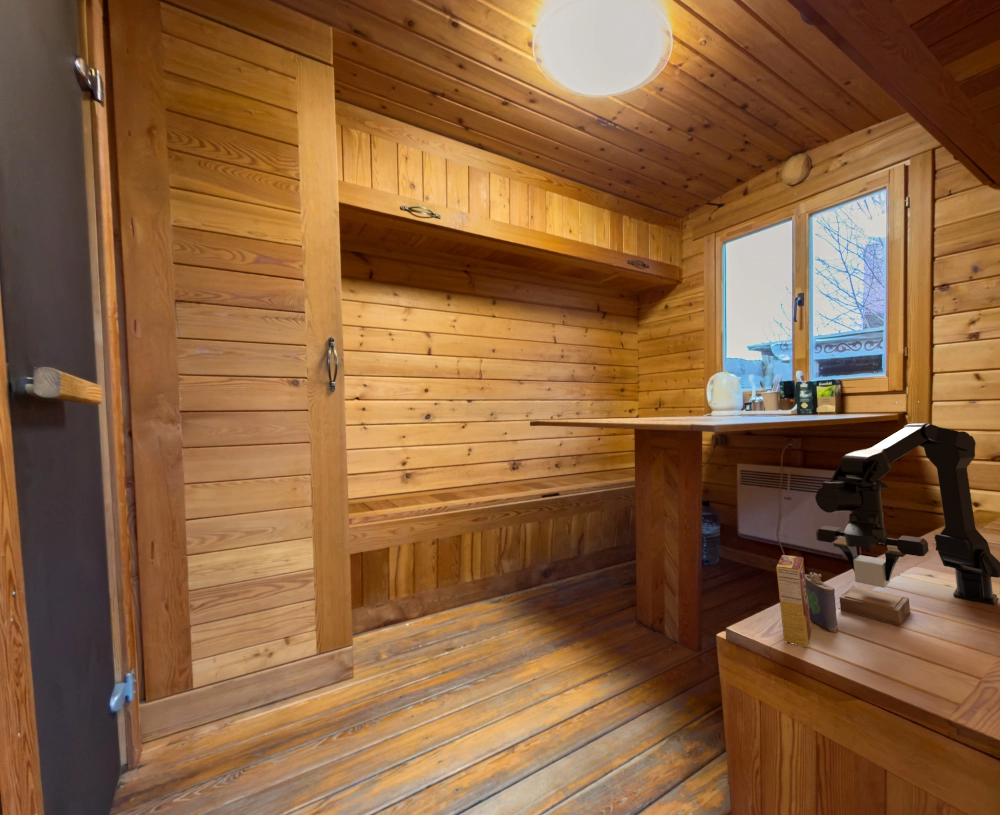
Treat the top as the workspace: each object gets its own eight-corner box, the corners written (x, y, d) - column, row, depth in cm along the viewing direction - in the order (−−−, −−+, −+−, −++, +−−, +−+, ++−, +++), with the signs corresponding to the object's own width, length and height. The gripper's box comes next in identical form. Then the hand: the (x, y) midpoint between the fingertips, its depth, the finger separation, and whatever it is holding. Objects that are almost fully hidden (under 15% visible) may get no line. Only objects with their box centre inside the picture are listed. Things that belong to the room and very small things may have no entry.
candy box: (787, 625, 91) (781, 554, 92) (811, 630, 89) (805, 557, 89) (781, 642, 84) (775, 565, 85) (808, 648, 82) (801, 569, 82)
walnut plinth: (853, 598, 103) (852, 584, 103) (910, 611, 95) (908, 596, 95) (840, 610, 97) (839, 596, 97) (899, 625, 89) (897, 609, 89)
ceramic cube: (861, 576, 99) (859, 555, 100) (890, 581, 95) (887, 559, 96) (855, 581, 96) (853, 559, 97) (884, 587, 92) (882, 564, 93)
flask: (841, 633, 87) (836, 580, 87) (825, 633, 87) (820, 580, 88) (814, 613, 96) (810, 566, 96) (800, 613, 96) (796, 566, 97)
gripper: (805, 509, 100) (811, 576, 99) (914, 520, 85) (921, 599, 84) (821, 502, 106) (827, 564, 105) (925, 511, 91) (932, 585, 90)
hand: (872, 577), depth 96 cm, fingers closed on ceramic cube, 5 cm apart
